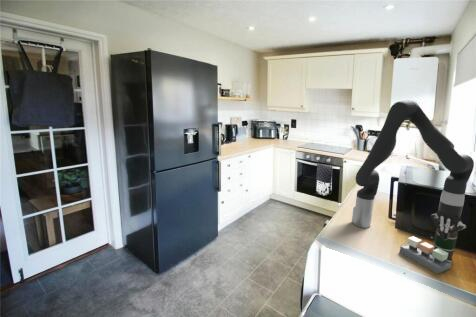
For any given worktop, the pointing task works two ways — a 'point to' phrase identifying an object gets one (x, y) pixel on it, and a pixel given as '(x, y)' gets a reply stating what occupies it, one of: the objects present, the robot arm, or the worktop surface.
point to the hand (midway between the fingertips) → (443, 239)
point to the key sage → (439, 254)
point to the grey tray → (425, 259)
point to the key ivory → (414, 241)
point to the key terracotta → (426, 247)
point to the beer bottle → (446, 242)
